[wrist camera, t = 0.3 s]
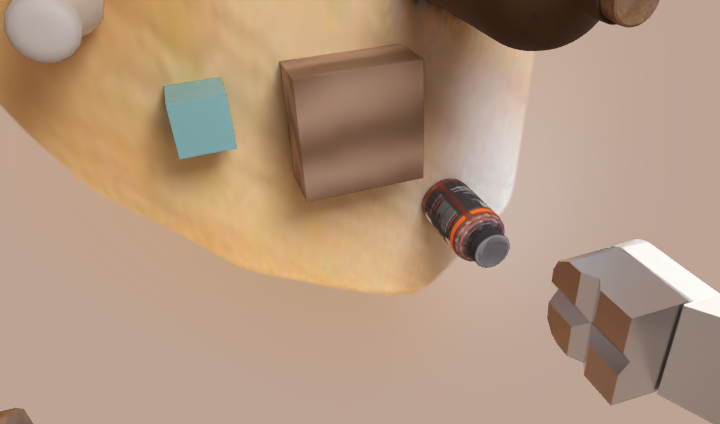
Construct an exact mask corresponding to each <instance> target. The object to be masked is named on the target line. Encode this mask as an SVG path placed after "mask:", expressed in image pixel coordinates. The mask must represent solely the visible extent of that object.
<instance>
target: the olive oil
mask: <svg viewBox="0 0 720 424" xmlns="http://www.w3.org/2000/svg"><path fill="white" fill-rule="evenodd" d="M428 1H430V2H432V3H434V4H436V5H438V6H439V7H441V8H443V9H445V10H447V11H448V12H450V13H452V14H453V15H455V16H457V17H458V18H460V19H462V20H463V21H465V22H467V23H468V24H470V25H472V26H473V27H475V28H477V29H478V30H480V31H481V32H483V33H485V34H486V35H488V36H489V37H491V38H492V39H494V40H496V41H497V42H499V43H501V44H503V45H505V46H508V47H511V48H514V49H518V50H525V51H540V50H550V49H555V48H559V47H562V46H564V45H567V44H569V43H571V42H573V41H575V40H577V39H578V38H580V37H581V36H583V35H584V34H585V33H587V32H588V31H589V30H590V29H591V28H592V27H593V26H594V25H595V24H596V23H597V22H598V21H599V20H600V21H602V22H605V23H607V24H612V25H613V24H614V25H615V24H618V25H621V26H624V27H635V26H638V25H640V24H641V23H643V22H645V21H646V20H647V19H648V18H649V17H650V16H651V15H652V13H653V12H654V10H655V9H656V7H657V5H658V3H659V0H428Z"/></svg>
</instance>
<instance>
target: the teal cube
mask: <svg viewBox="0 0 720 424" xmlns="http://www.w3.org/2000/svg"><path fill="white" fill-rule="evenodd" d="M164 95H165V105H166V109H167V113H168V117H169V121H170V125H171V129H172V132H173V136H174V140H175V144H176V148H177V152H178V156H179V159H185V158H190V157H195V156H200V155H206V154H211V153H216V152H221V151H227V150H232V149H237V145H236V140H235V135H234V130H233V125H232V120H231V115H230V110H229V105H228V99H227V95H226V92H225V89H224V86H223V83H222V81H221V78H220V77H218V78H212V79H206V80H200V81H193V82H187V83H181V84H175V85H169V86H164Z"/></svg>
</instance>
